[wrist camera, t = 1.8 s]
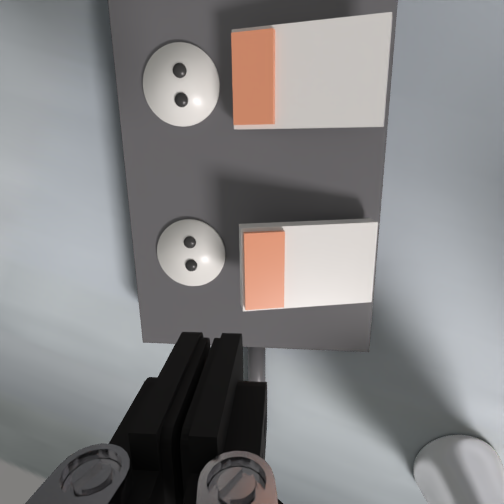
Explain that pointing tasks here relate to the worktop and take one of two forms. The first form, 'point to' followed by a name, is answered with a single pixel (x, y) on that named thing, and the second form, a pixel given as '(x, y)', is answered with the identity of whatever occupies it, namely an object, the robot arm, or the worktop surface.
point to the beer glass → (459, 471)
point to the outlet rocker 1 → (312, 73)
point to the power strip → (229, 173)
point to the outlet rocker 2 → (306, 263)
